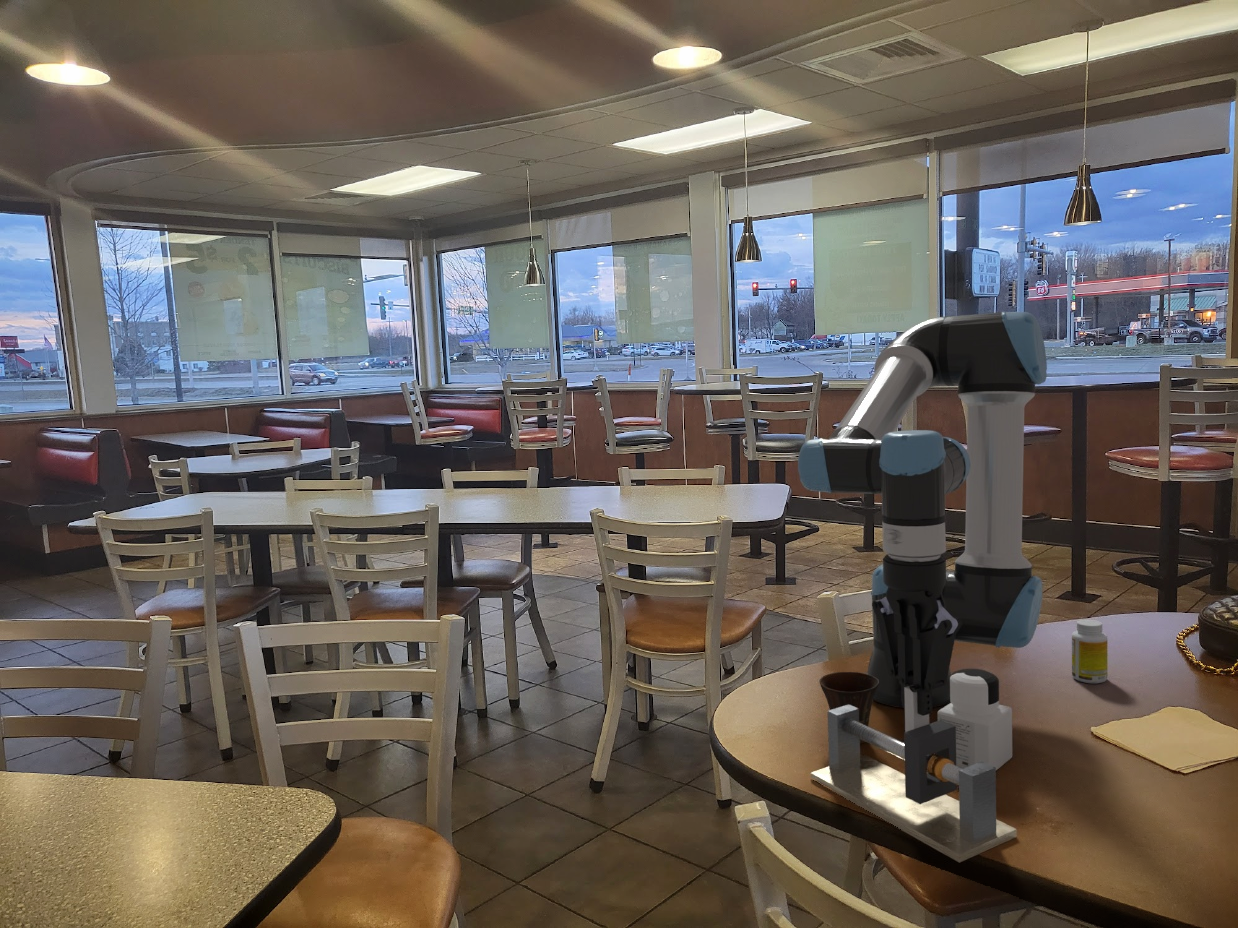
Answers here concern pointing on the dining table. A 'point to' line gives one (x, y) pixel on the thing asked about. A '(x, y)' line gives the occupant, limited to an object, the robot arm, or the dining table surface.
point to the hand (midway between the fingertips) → (917, 735)
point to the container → (978, 719)
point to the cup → (850, 692)
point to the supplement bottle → (1089, 652)
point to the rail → (883, 794)
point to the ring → (916, 749)
